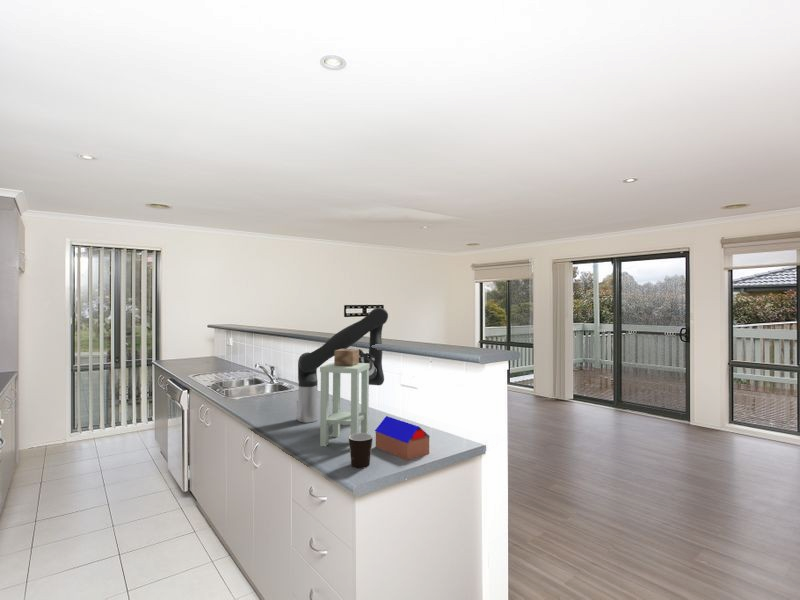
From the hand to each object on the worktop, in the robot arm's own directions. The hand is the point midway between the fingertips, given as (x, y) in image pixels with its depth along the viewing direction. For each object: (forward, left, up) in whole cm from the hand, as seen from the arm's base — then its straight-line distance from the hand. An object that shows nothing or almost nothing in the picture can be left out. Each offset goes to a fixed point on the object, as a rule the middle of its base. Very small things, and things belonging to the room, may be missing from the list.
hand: (355, 351), depth 190 cm
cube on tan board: (+1, -4, -4) cm, 6 cm away
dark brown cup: (+25, -26, -37) cm, 52 cm away
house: (+29, -6, -37) cm, 48 cm away
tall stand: (+4, -11, -37) cm, 39 cm away
